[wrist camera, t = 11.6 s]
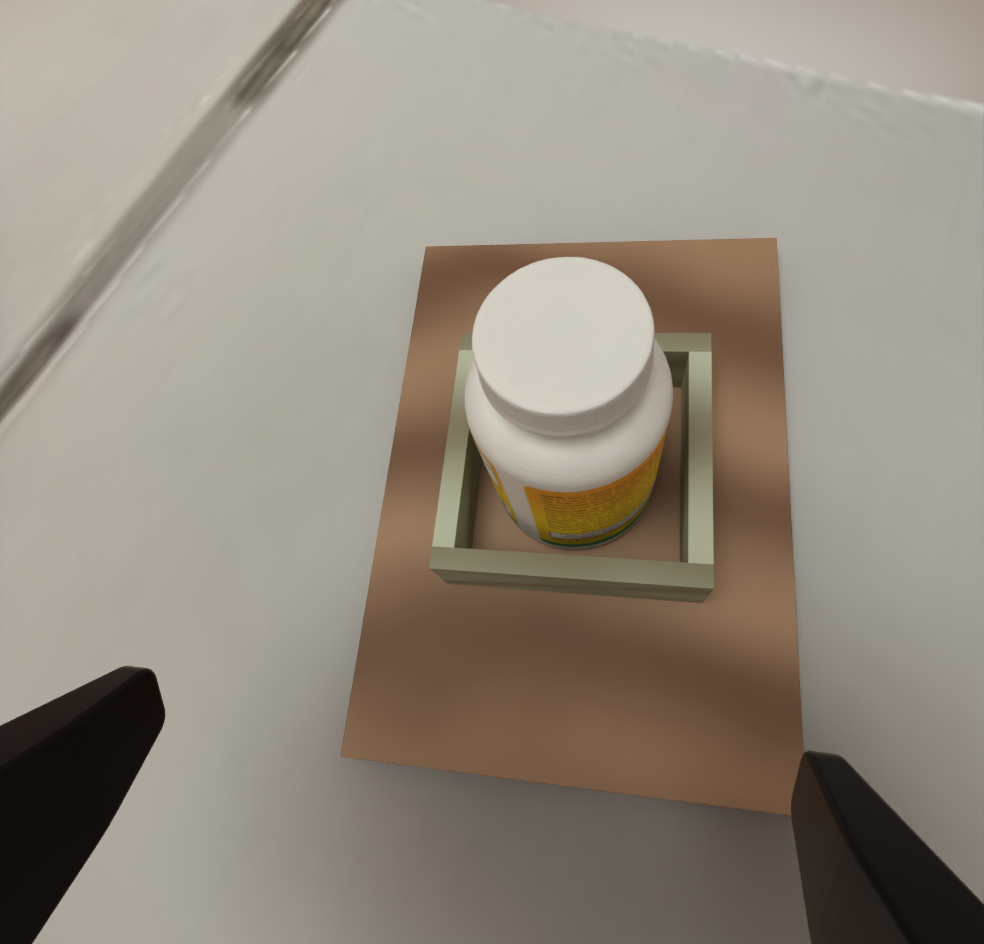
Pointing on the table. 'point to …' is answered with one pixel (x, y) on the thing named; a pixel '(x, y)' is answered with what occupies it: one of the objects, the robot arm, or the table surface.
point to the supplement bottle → (569, 400)
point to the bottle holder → (595, 562)
